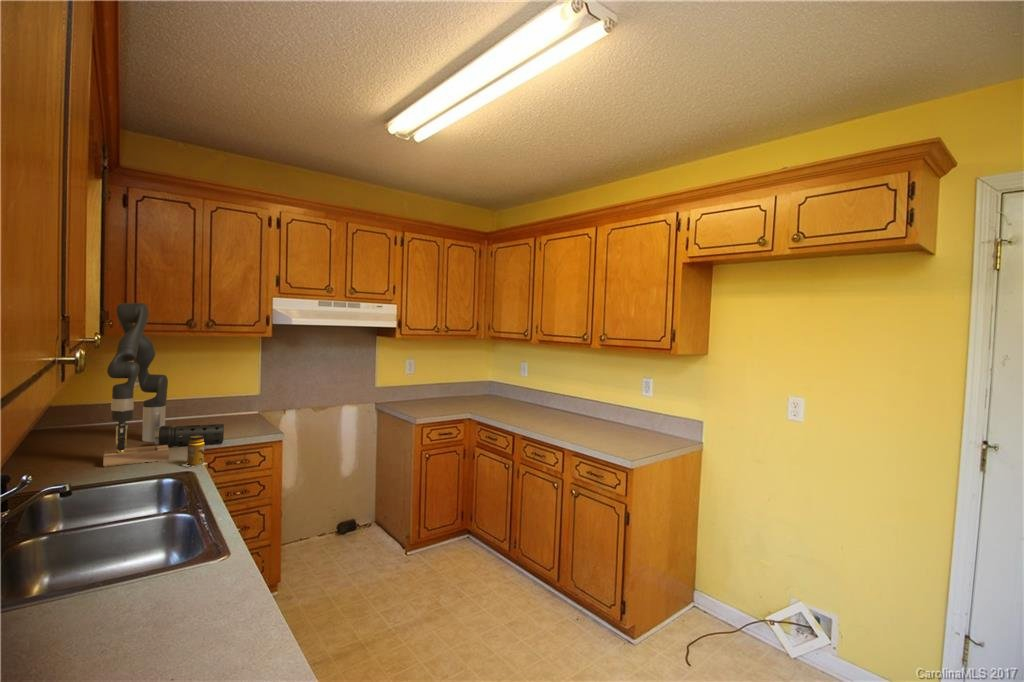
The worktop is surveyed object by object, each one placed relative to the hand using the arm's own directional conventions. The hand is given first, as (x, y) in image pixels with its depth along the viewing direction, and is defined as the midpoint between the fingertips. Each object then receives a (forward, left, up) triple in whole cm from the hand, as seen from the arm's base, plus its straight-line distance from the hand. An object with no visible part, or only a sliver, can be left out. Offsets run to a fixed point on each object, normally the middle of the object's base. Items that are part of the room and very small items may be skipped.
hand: (121, 448), depth 208 cm
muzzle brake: (-21, +26, -6) cm, 34 cm away
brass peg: (0, 0, -5) cm, 5 cm away
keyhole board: (0, +5, -6) cm, 8 cm away
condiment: (+17, +24, -6) cm, 30 cm away
